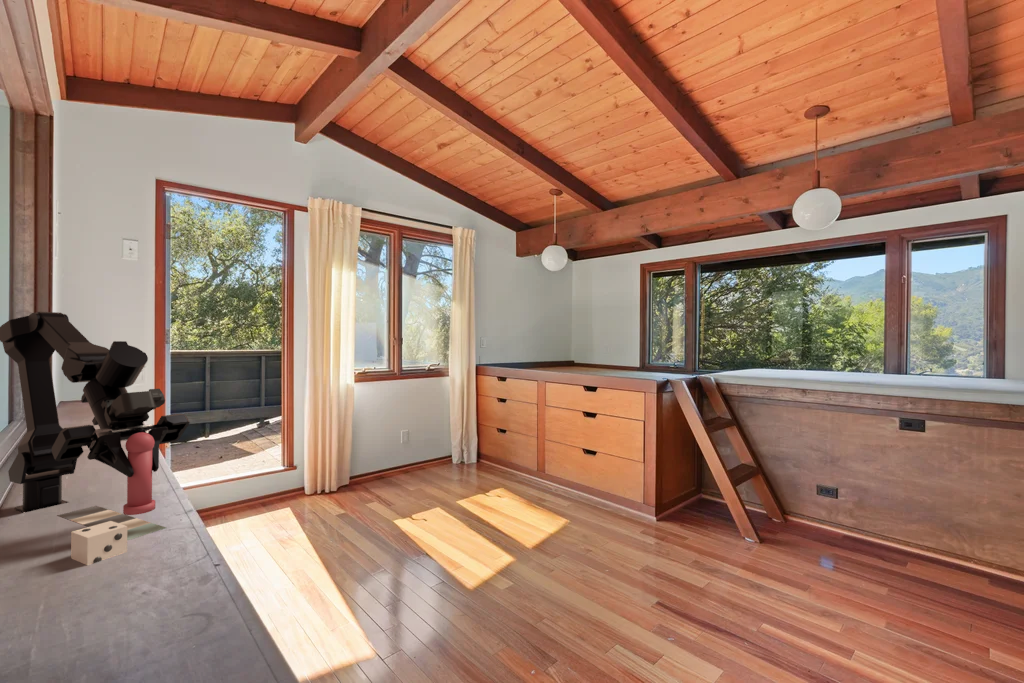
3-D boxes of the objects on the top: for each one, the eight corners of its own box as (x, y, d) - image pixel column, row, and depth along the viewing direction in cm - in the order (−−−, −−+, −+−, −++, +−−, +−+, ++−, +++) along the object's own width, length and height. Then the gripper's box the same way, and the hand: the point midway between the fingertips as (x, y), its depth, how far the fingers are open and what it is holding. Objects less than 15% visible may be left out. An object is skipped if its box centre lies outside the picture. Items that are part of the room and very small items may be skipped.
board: (54, 521, 89) (54, 516, 89) (98, 510, 95) (98, 505, 95) (124, 547, 78) (124, 541, 78) (169, 532, 84) (169, 526, 84)
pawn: (117, 512, 81) (118, 433, 81) (146, 504, 85) (147, 429, 85) (131, 516, 79) (132, 435, 79) (160, 508, 83) (161, 431, 83)
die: (71, 564, 72) (71, 531, 72) (110, 551, 76) (110, 520, 76) (87, 571, 70) (87, 537, 70) (127, 558, 74) (127, 525, 74)
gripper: (60, 378, 76) (94, 455, 71) (184, 372, 92) (218, 433, 88) (38, 423, 79) (68, 499, 74) (161, 409, 96) (193, 470, 91)
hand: (144, 472), depth 82 cm, fingers closed on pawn, 3 cm apart
